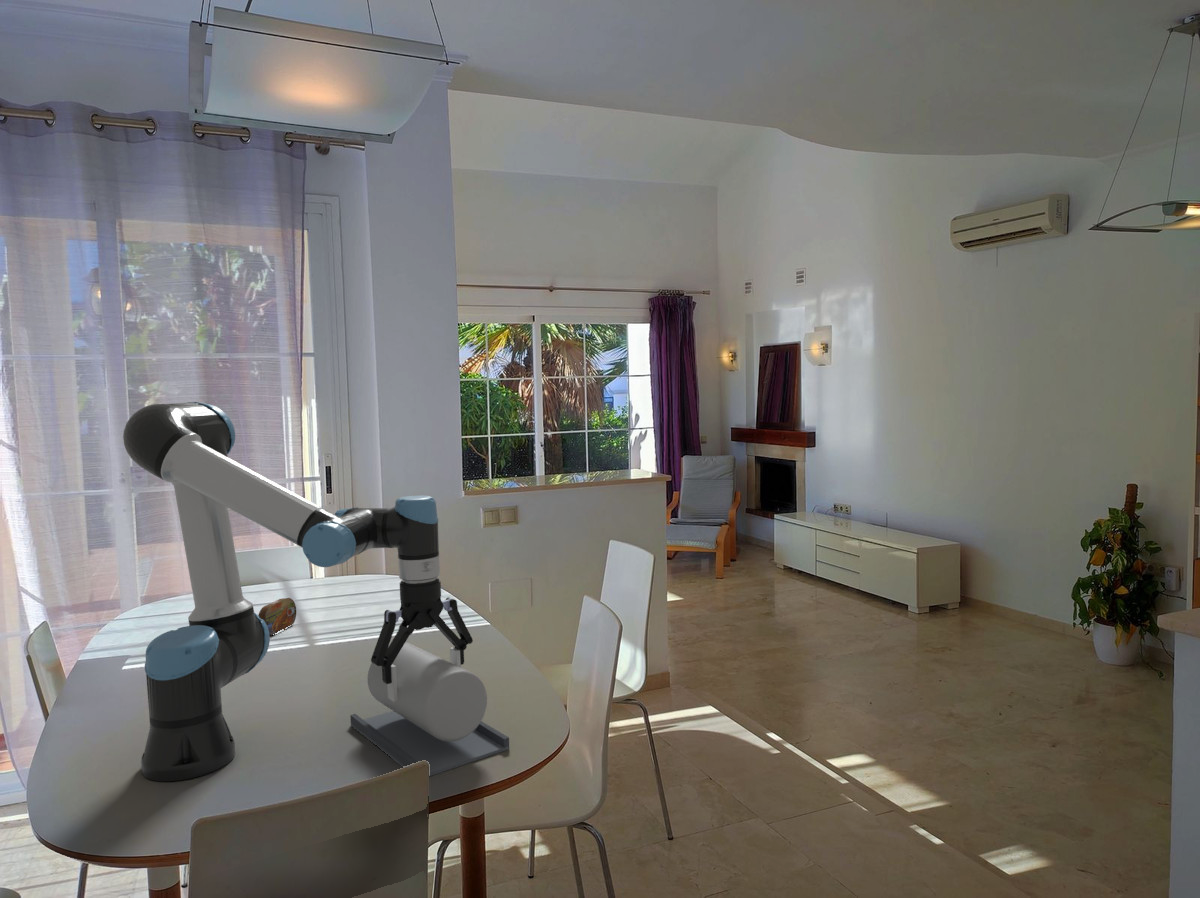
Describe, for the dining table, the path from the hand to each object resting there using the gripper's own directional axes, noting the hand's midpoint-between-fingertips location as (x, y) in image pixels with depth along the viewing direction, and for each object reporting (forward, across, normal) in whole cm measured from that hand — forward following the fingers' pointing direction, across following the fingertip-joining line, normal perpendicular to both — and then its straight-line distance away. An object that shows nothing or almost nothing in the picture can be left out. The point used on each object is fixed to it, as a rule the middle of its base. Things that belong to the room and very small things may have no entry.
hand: (425, 690), depth 157 cm
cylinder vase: (0, 0, -13) cm, 13 cm away
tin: (+9, +1, +93) cm, 93 cm away
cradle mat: (+9, 0, 0) cm, 9 cm away
